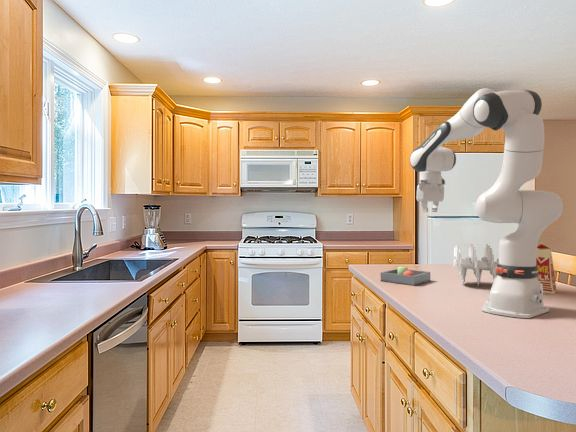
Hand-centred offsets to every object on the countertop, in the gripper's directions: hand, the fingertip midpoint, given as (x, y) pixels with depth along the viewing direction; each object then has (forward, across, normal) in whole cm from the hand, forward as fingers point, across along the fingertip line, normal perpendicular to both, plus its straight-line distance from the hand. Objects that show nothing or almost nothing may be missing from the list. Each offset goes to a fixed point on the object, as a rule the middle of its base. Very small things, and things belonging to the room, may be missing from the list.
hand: (430, 212), depth 182 cm
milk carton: (+31, +14, -40) cm, 53 cm away
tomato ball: (+30, -6, +7) cm, 32 cm away
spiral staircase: (+31, +10, -20) cm, 39 cm away
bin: (+31, -3, +10) cm, 33 cm away
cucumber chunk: (+30, -2, +12) cm, 33 cm away
